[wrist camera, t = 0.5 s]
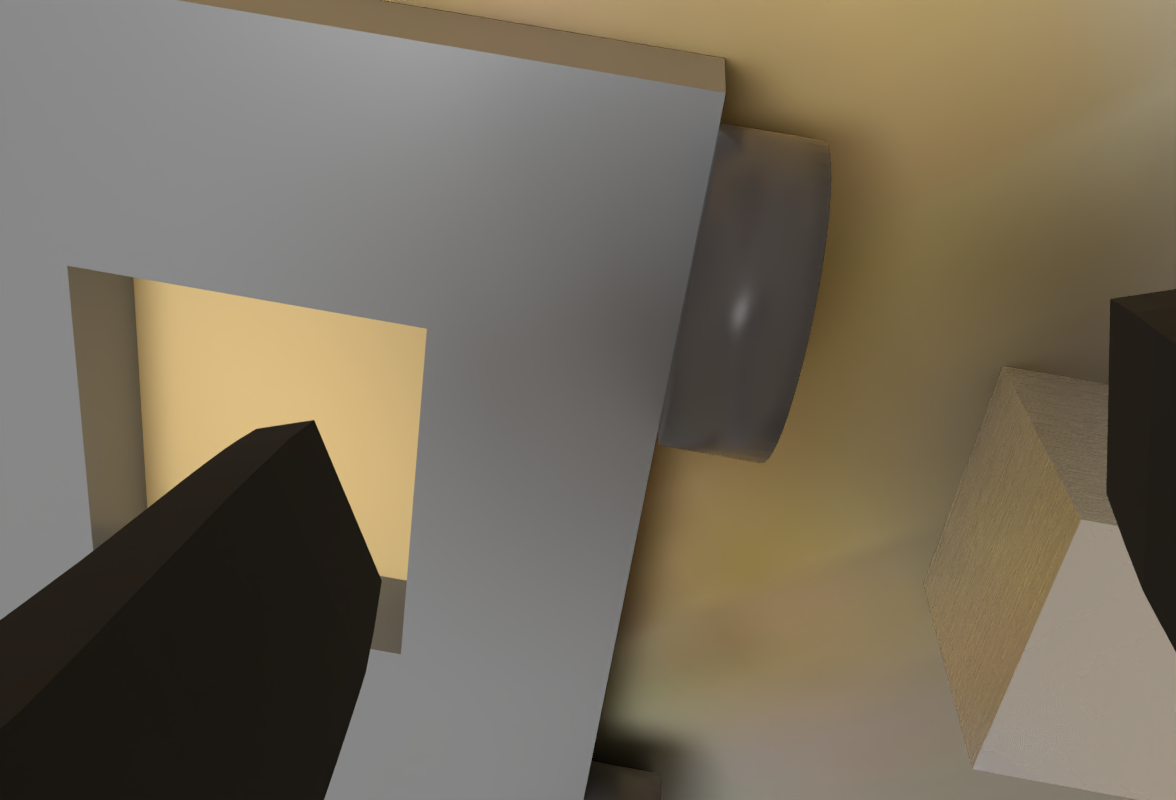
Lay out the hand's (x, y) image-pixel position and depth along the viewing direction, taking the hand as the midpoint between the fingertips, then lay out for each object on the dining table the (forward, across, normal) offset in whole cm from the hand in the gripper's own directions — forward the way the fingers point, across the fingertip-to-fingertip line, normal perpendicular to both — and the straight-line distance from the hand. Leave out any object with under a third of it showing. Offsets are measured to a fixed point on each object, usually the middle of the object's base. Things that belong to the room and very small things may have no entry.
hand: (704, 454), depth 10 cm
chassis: (+9, +10, +6) cm, 15 cm away
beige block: (+9, -6, +8) cm, 14 cm away
